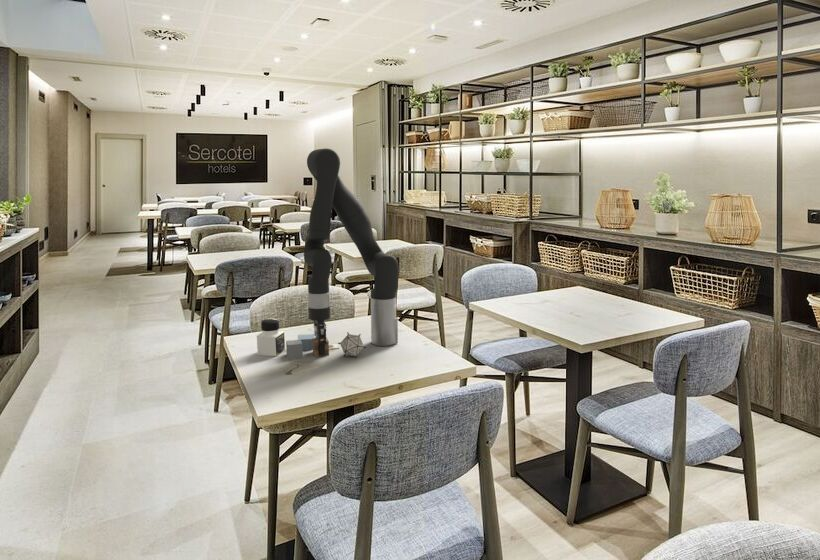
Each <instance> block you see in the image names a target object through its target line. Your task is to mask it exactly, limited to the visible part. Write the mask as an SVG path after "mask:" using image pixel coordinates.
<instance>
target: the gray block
mask: <svg viewBox="0 0 820 560" xmlns="http://www.w3.org/2000/svg"><path fill="white" fill-rule="evenodd" d="M285 343H286V344H285V350H286V356H287V360H291V359H301V358H302V359H303V358H304V355H303V350H302V342H301V340H298V339H292V340H291V339H290V340H286V342H285Z"/></svg>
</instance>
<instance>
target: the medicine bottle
mask: <svg viewBox="0 0 820 560" xmlns="http://www.w3.org/2000/svg"><path fill="white" fill-rule="evenodd" d="M260 324H261V325H260V327H261V328H260V329H261V333H258V335H257V336H256V341H257V342H256V347H257V356H263V357H278V356H279V355H281V354H282V353H283V352H285V350H286V344H285V343H286V342H285V331H284V330H280V321H279V319H276V318H271V317H270V318H265V319H263V320H262V321H260Z"/></svg>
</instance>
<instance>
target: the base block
mask: <svg viewBox="0 0 820 560" xmlns="http://www.w3.org/2000/svg"><path fill="white" fill-rule="evenodd" d="M312 338H315V334H314V333H308V334H305V333H304V334H297V340H301V342H302V351H304V350H307V351H308V350H313V342H312Z"/></svg>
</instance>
